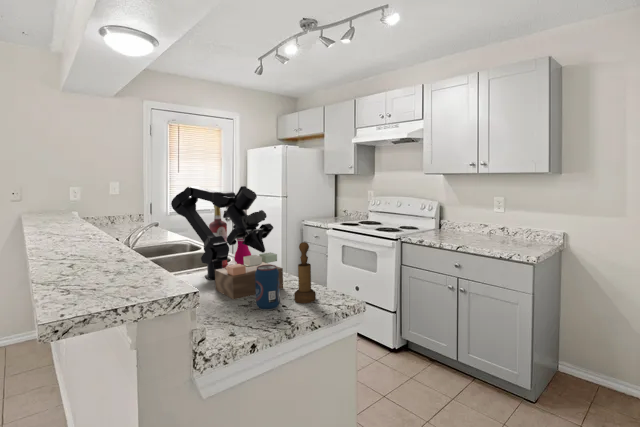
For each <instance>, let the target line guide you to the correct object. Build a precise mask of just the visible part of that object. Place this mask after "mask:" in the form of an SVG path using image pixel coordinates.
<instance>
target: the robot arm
mask: <svg viewBox="0 0 640 427" xmlns="http://www.w3.org/2000/svg"><path fill="white" fill-rule="evenodd" d="M257 197H258V196H257V193H256V192H255V191H253V189H252V190H251V189H250V188H248V187H247V186H246V185H245V186H244V185H241V186H240V187H239V189H238V191H237V193H236V192H234V191H215V190H213V189H208V188H203V187H200V186H197V185H192V186H187V187H186V188H184V190H182V191H181V192H179V193H178V194H176V196H174V197H173V198H172V199H171V203H170V206H171V208H172V209H173V210H174V211H175V213H177V214H178V215H179V216H182V217H184V218H185V220H186V221H187V222H188V223H189V224H190V226H191V227H192V229H193V230H194V231H195V233H196V234H197V235H198V237H199V239H200V240H201V241H202V243H203V254H202V255H201V257H200V260H201V263H202V264H206V265H207V266H206V268H207V274H206V275H204V277H205V278H206V279H207V280H210V281H212V280H215V270H216V269H222V268H223V263H222V261H224V260H227V261H228V257H229V253H230V252H229V251H230V246H234V245H236V244H237V243H238V242H237V240H236V239H240V238H243V240H244V241H243V243H242V244H245V245H247V246H248V247H250V248H253V249H254V250H256V251H258V252H259V253H261V254H264V253H265V252H266V248H265V243H264V239H266V238H267V237H268V236H269V235H270V233H271V232H272V231H273V230H274V225H272V224H271V223H263V224H261V225H260V224H259V223H261V222H263V221H265V220H266V219H267V218H268V217H267V213H266V212H265V211H264V210H263V209H261V210H259V211H254V212H251V213H250V214H247V213H246V212H245V211H247V210H249V209H250V207H251V206H252V205H253V203H254V202H255V200H257V199H258V198H257ZM199 199H200V200H203V201H206V202H210V203H212V205H213V206H214V205H215V206H217V207H219V208H220V209H222V208H223V209H224V208H226V209H225V210H223V214H222V215H223V216H222V218H223V219H228V218H229V219H230V221H231V222H232V224H233V226H232V227H233V228H232V229H231V230H230V232H229V234H227V242H226V241H225V240H224V238H223V237H222V236H215V235H214V234H213V233H212V231H211V230H210V229H209V225H208V224H207V223H206V222H205V221H204V219H203V218H202V217H201V215H200V214H199V212H198V211H197V203H198V201H199ZM258 227H259V228H258Z"/></svg>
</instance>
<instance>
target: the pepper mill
mask: <svg viewBox="0 0 640 427" xmlns="http://www.w3.org/2000/svg"><path fill="white" fill-rule="evenodd" d="M235 240H236V241H237V242H236V243H237V247H236V248H237V249H236V252H235V254H234V258H233V259H234V262H235V264H241V265H243V264H244V257H245V256H251V255H252V253H251V250H250V248H249V246H247V245H245V244H242V243H243V241H244V240H243V238H240V239H235Z"/></svg>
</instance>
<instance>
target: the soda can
mask: <svg viewBox="0 0 640 427" xmlns="http://www.w3.org/2000/svg"><path fill="white" fill-rule="evenodd" d="M277 267H278V265H276V264H271V265H261V266H258V267H257V270H256V272H255V288H256V295H255V304H256V307H257V308H258V309H259V310H261V311H273V310H276V309H278V307H279V305H280V303H281V301H280V300H281V297H280V296H281V294H280V293H281V292H280V290H281V289H279V271H278V269H277Z"/></svg>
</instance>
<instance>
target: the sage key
mask: <svg viewBox="0 0 640 427" xmlns="http://www.w3.org/2000/svg"><path fill="white" fill-rule="evenodd" d="M258 256H261V257H262V262H264V263H268V264H271V263H274V262H278V254H277V253H274V252H266V253H265V252H264V253H260V254H259V255H258Z"/></svg>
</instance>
